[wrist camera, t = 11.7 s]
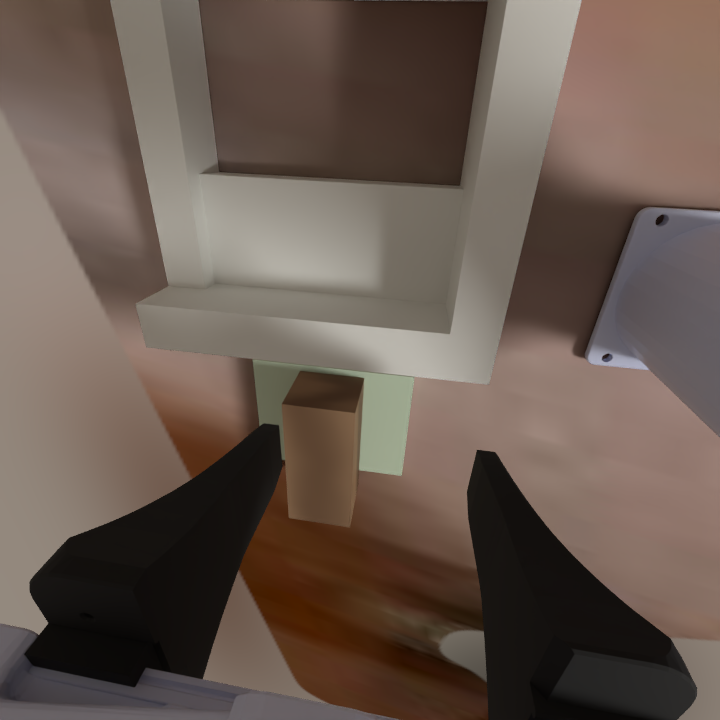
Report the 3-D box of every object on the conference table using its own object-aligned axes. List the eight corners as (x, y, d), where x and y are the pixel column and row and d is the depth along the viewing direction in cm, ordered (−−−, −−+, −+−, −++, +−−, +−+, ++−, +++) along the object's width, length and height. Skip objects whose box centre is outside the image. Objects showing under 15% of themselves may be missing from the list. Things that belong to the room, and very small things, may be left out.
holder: (557, -80, 14) (631, -206, 9) (474, 332, 22) (489, 384, 17) (142, -74, 15) (13, -177, 11) (204, 306, 23) (146, 347, 18)
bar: (364, 378, 23) (355, 413, 20) (358, 484, 28) (349, 527, 25) (300, 370, 24) (281, 404, 21) (303, 476, 28) (288, 517, 25)
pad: (414, 372, 23) (414, 377, 23) (402, 469, 27) (401, 475, 27) (256, 355, 24) (252, 359, 24) (265, 451, 28) (262, 456, 28)
